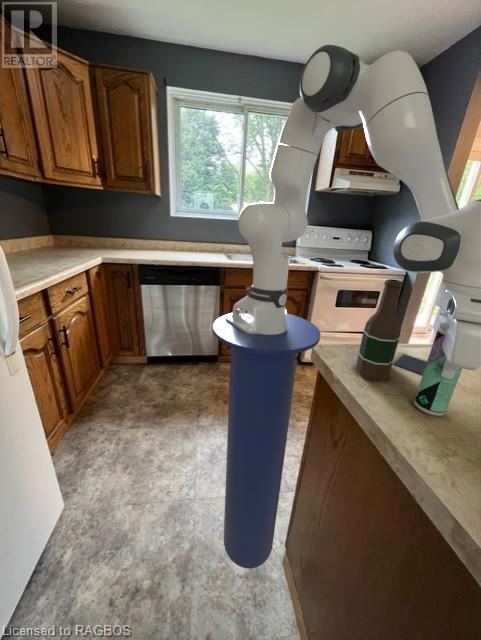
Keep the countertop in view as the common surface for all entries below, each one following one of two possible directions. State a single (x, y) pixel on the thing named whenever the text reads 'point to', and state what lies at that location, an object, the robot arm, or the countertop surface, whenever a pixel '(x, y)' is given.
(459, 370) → the spray can
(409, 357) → the mat
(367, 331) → the beer bottle
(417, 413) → the countertop surface
